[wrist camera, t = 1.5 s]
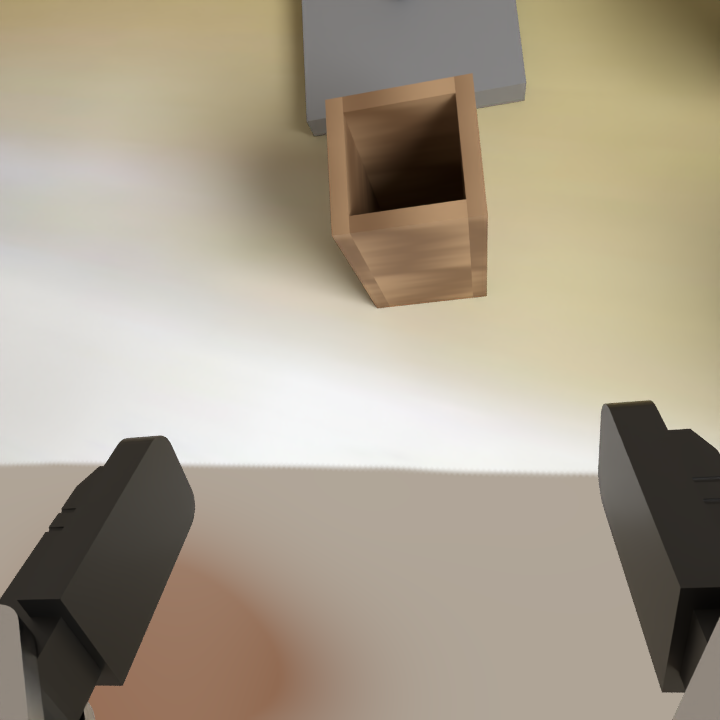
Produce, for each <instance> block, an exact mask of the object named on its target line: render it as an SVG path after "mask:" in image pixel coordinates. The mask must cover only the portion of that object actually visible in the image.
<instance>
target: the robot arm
mask: <svg viewBox="0 0 720 720" xmlns="http://www.w3.org/2000/svg"><path fill="white" fill-rule="evenodd" d="M598 477H599V487H600V494H601V499H602V503H603V507H604V510H605V513H606V517H607V520H608V523H609V526H610V529H611V532H612V536H613V539H614V542H615V545H616V548H617V551H618V555H619V558H620V561H621V564H622V567H623V570H624V573H625V577H626V580H627V583H628V586H629V589H630V593H631V596H632V599H633V602H634V605H635V608H636V612H637V615H638V618H639V621H640V624H641V627H642V630H643V634H644V637H645V640H646V643H647V646H648V649H649V653H650V656H651V659H652V662H653V665H654V669H655V672H656V675H657V678H658V681H659V684H660V687H661V690H662V692H684V695H683V698H682V700H681V702H680V704H679V706H678V708H677V711H676V713H675V715H674V717H673V719H672V720H720V454H719V452H718V450H717V449H716V448H714V447H713V446H712V445H710V444H709V443H708V442H707V441H705V440H704V439H703V438H701V437H700V436H699V435H698V434H696V433H695V432H694V431H693V430H691V429H680V430H668V429H667V427H666V425H665V423H664V421H663V419H662V417H661V415H660V413H659V412H658V410H657V408H656V406H655V404H654V403H653V402H652V401H650V400H649V401H635V402H622V403H609V404H604V405H603V406H602V411H601V426H600V446H599V465H598ZM194 512H195V501H194V495H193V492H192V489H191V487H190V485H189V483H188V480H187V478H186V476H185V474H184V472H183V469H182V467H181V465H180V463H179V461H178V458H177V456H176V454H175V452H174V450H173V447H172V445H171V443H170V442H169V440H168V439H167V438H166V437H164V436H150V437H136V438H126V439H123V440H122V441H121V442H120V443H119V444H118V445H117V447H116V448H115V450H114V451H113V453H112V454H111V456H110V457H109V459H108V460H107V462H106V464H105V465H104V466H100V467H98V468H97V469H96V470H95V471H94V472H93V473H92V474H90V475H89V476H88V477H87V478H86V479H85V480H84V481H82V482H81V483H80V484H79V485H78V486H77V487H76V488H75V490H74V491H73V493H72V494H71V495H70V497H69V499H68V500H67V502H66V503H65V504H64V506H63V507H62V512H61V513H59V514H58V515H57V516H56V518H55V519H54V520H53V522H52V523H51V525H50V526H49V532H45V534H44V535H43V537H42V538H41V540H40V541H39V543H38V544H37V545H36V547H35V548H34V550H33V551H32V553H31V554H30V556H29V557H28V559H27V560H26V562H25V563H24V565H23V566H22V568H21V569H20V570H19V572H18V573H17V575H16V576H15V578H14V579H13V581H12V582H11V584H10V585H9V587H8V588H7V590H6V591H5V593H4V594H3V595H2V597H1V599H0V720H95V717H94V713H93V709H92V707H91V706H90V704H89V703H88V700H89V698H90V696H91V693H92V691H93V689H94V687H95V685H103V686H104V685H109V686H112V685H113V686H122V685H123V683H124V681H125V679H126V677H127V674H128V672H129V670H130V667H131V665H132V663H133V660H134V658H135V656H136V653H137V651H138V649H139V646H140V644H141V642H142V639H143V637H144V635H145V632H146V630H147V628H148V625H149V623H150V621H151V618H152V616H153V613H154V611H155V609H156V607H157V604H158V602H159V600H160V597H161V595H162V593H163V590H164V588H165V586H166V583H167V581H168V578H169V576H170V574H171V571H172V569H173V567H174V564H175V562H176V560H177V557H178V555H179V553H180V550H181V548H182V546H183V544H184V541H185V539H186V537H187V534H188V532H189V529H190V527H191V525H192V522H193V518H194Z"/></svg>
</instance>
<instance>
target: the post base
mask: <svg viewBox="0 0 720 720" xmlns="http://www.w3.org/2000/svg"><path fill="white" fill-rule="evenodd" d="M302 18H303V42H304V66H305V91H306V115H307V123H308V125H309V127H310V129H311V131H312V133H313V135H314V136H318V135H324V134H327V128H326V108H325V100H327V99H333V98H338V97H344V96H349V95H355V94H360V93H366V92H371V91H377V90H382V89H388V88H393V87H399V86H404V85H410V84H415V83H421V82H426V81H432V80H437V79H443V78H449V77H454V76H460V75H465V74H471V73H473V82H474V92H475V101H476V108H482V107H488V106H494V105H500V104H506V103H512V102H518V101H523V100H524V99H525V89H526V78H525V70H524V62H523V54H522V46H521V38H520V31H519V23H518V15H517V7H516V0H302Z"/></svg>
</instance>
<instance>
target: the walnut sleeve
mask: <svg viewBox="0 0 720 720" xmlns="http://www.w3.org/2000/svg"><path fill="white" fill-rule="evenodd" d="M325 108H326V128H327V149H328V170H329V190H330V211H331V231H332V237H333V239H334V240H335V242H336V243H337V245H338V247H339V248H340V250H341V251H342V253H343V255H344V256H345V258H346V259H347V261H348V262H349V264H350V266H351V267H352V269H353V270H354V272H355V274H356V275H357V277H358V278H359V280H360V282H361V283H362V285H363V286H364V288H365V289H366V291H367V293H368V294H369V296H370V297H371V299H372V301H373V302H374V304H375V305H376V307H377V308H384V307H393V306H402V305H411V304H420V303H429V302H438V301H447V300H456V299H465V298H473V297H482V296H487V226H488V213H487V204H486V194H485V185H484V176H483V166H482V157H481V148H480V138H479V129H478V120H477V110H476V101H475V92H474V82H473V73H471V74H465V75H460V76H454V77H449V78H443V79H437V80H432V81H426V82H421V83H415V84H410V85H404V86H399V87H393V88H388V89H382V90H377V91H371V92H366V93H360V94H355V95H349V96H344V97H338V98H333V99H327V100H325Z"/></svg>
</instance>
